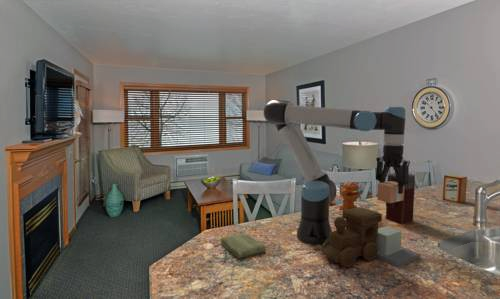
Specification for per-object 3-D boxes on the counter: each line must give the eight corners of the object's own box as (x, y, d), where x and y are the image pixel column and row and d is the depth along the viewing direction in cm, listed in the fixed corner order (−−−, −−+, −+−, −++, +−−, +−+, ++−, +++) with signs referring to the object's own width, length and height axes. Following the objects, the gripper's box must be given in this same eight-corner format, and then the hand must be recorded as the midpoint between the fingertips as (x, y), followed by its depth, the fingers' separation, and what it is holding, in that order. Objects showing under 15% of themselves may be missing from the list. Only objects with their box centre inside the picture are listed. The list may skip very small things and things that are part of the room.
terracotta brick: (390, 203, 116) (391, 186, 115) (377, 199, 121) (378, 183, 120) (403, 200, 120) (404, 183, 120) (390, 196, 126) (391, 181, 125)
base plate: (398, 267, 97) (398, 263, 97) (355, 247, 113) (355, 243, 113) (419, 258, 104) (420, 253, 104) (376, 240, 119) (376, 236, 119)
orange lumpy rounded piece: (356, 219, 145) (357, 184, 144) (335, 215, 152) (336, 181, 150) (363, 213, 154) (364, 180, 152) (342, 209, 161) (343, 178, 159)
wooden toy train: (358, 246, 114) (359, 205, 112) (383, 258, 104) (384, 214, 102) (318, 257, 105) (319, 213, 104) (340, 271, 95) (342, 223, 93)
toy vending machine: (382, 219, 144) (384, 164, 142) (396, 215, 150) (398, 163, 147) (399, 225, 137) (401, 167, 134) (413, 221, 142) (415, 165, 139)
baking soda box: (442, 199, 179) (444, 174, 178) (448, 198, 182) (450, 173, 181) (459, 203, 171) (461, 177, 170) (465, 202, 174) (467, 176, 173)
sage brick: (385, 254, 103) (386, 235, 103) (371, 248, 108) (372, 230, 108) (400, 248, 108) (401, 231, 107) (386, 243, 113) (387, 226, 112)
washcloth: (246, 237, 125) (246, 230, 125) (268, 253, 109) (267, 245, 109) (218, 243, 119) (218, 236, 118) (237, 261, 103) (237, 253, 103)
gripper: (421, 146, 112) (418, 203, 114) (378, 142, 128) (376, 192, 131) (410, 146, 108) (407, 206, 111) (367, 143, 125) (365, 195, 127)
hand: (390, 198), depth 121 cm, fingers closed on terracotta brick, 6 cm apart
